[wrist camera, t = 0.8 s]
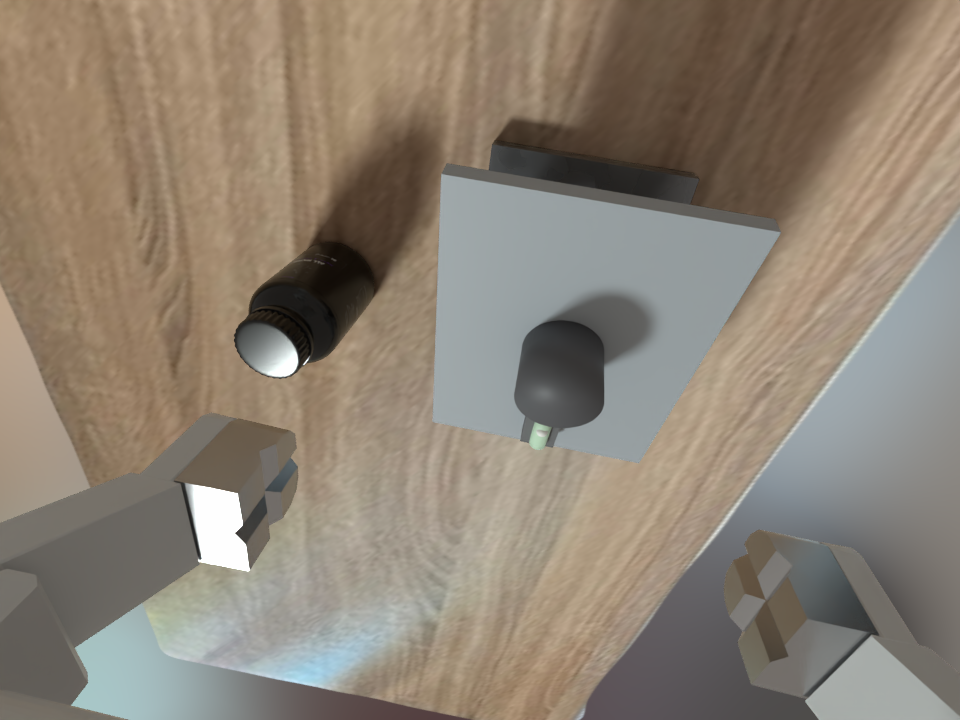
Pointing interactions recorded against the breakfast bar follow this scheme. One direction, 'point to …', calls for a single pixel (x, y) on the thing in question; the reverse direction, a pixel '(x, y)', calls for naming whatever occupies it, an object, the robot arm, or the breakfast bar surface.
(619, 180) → the stand
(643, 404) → the plate
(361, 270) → the supplement bottle
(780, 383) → the breakfast bar surface
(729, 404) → the breakfast bar surface
